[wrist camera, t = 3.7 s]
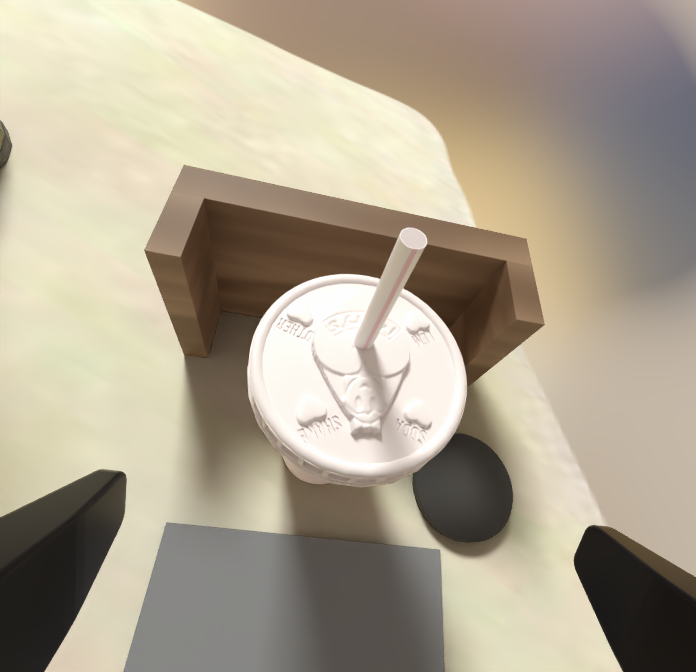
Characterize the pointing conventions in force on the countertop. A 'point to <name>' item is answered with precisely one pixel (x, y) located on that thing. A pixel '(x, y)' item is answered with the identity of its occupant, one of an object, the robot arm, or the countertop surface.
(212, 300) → the cubby
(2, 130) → the thermos
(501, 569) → the countertop surface
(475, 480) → the dark grey disc
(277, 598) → the mat
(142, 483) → the countertop surface
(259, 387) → the smoothie
